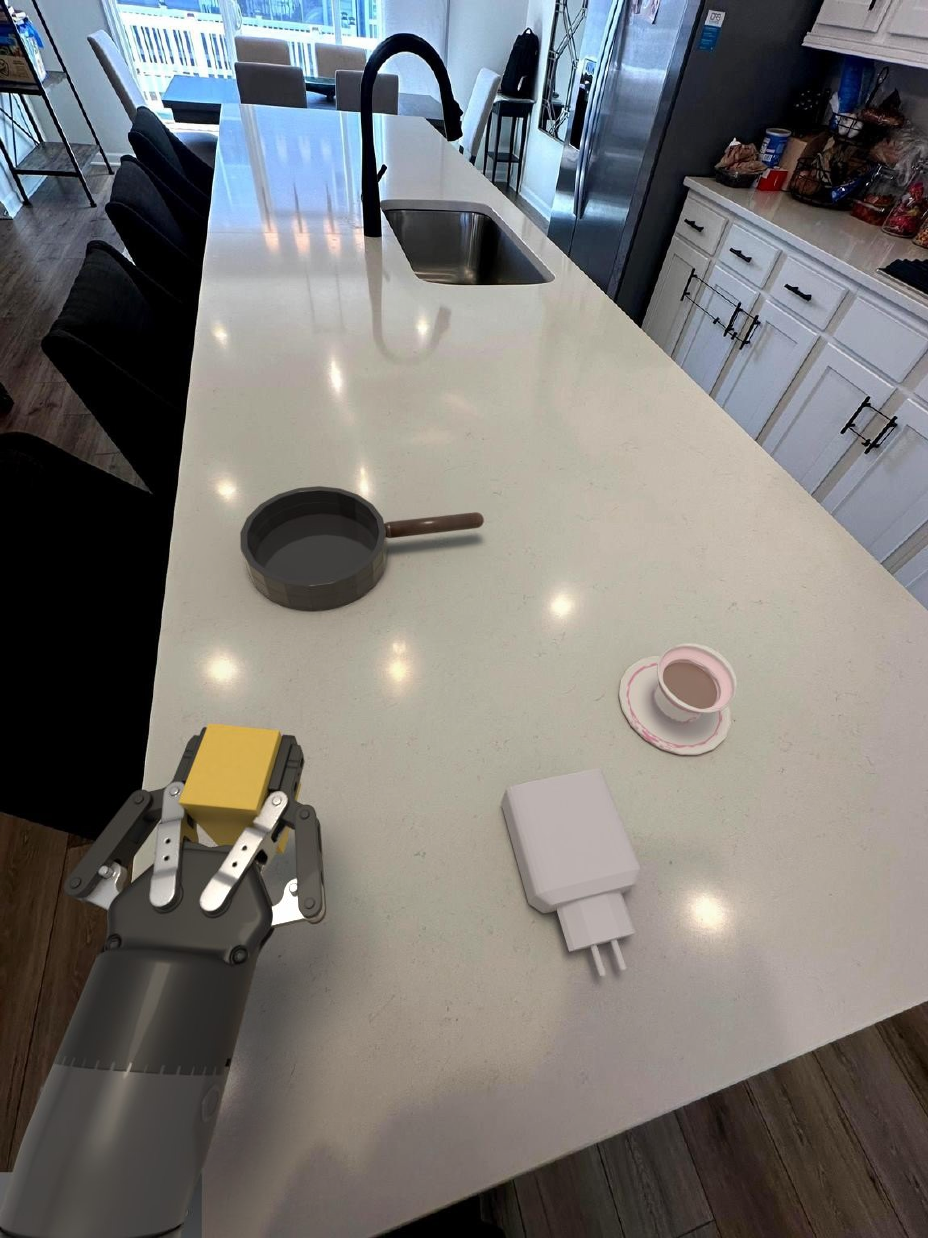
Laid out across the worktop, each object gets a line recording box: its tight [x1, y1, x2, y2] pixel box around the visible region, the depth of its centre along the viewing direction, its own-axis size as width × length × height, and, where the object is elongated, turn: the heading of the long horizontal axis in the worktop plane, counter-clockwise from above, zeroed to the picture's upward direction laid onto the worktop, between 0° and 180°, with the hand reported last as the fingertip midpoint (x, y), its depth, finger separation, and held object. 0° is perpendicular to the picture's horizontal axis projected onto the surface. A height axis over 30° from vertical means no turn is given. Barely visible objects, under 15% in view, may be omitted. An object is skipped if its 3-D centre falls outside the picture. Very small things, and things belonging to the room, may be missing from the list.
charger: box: [500, 768, 642, 978], centre depth 47 cm, size 5×9×15 cm
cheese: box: [178, 723, 302, 855], centre depth 36 cm, size 5×4×9 cm
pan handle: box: [384, 511, 485, 539], centre depth 70 cm, size 13×2×2 cm, turn 104°
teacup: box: [618, 642, 738, 756], centre depth 58 cm, size 12×12×6 cm
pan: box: [239, 485, 388, 612], centre depth 67 cm, size 17×17×4 cm
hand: (252, 737), depth 36 cm, fingers closed on cheese, 4 cm apart
